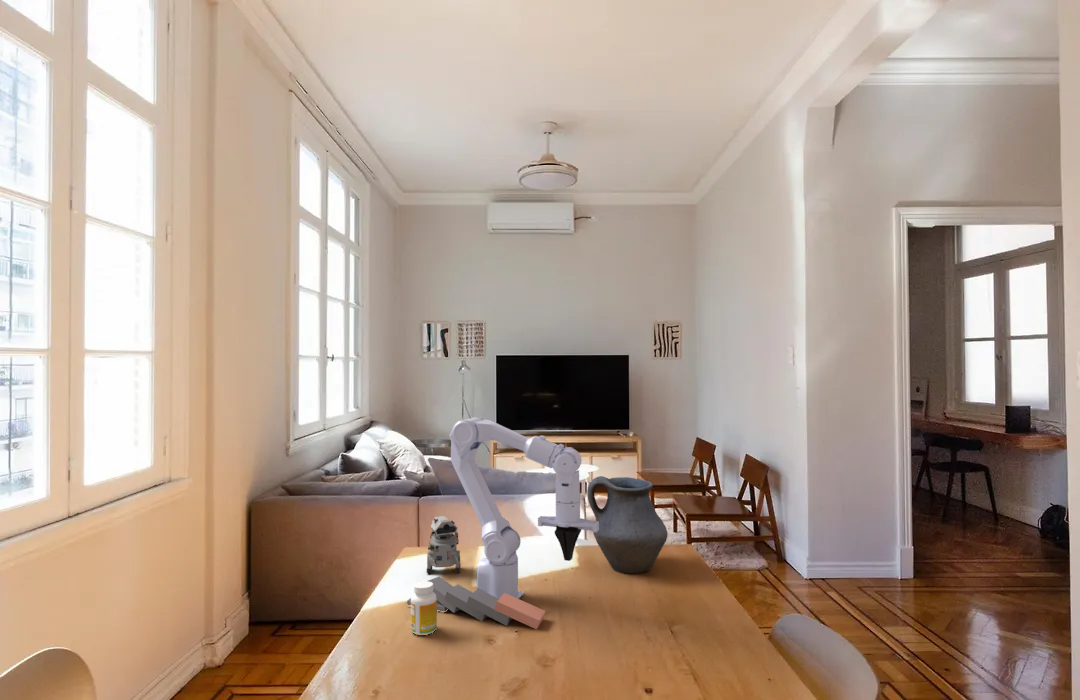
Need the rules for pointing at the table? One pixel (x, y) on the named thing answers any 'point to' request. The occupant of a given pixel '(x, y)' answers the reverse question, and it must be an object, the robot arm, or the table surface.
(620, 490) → the pitcher
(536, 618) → the red domino
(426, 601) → the supplement bottle
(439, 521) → the figurine
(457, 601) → the domino
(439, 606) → the domino
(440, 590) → the domino
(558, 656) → the table surface
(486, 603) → the domino
